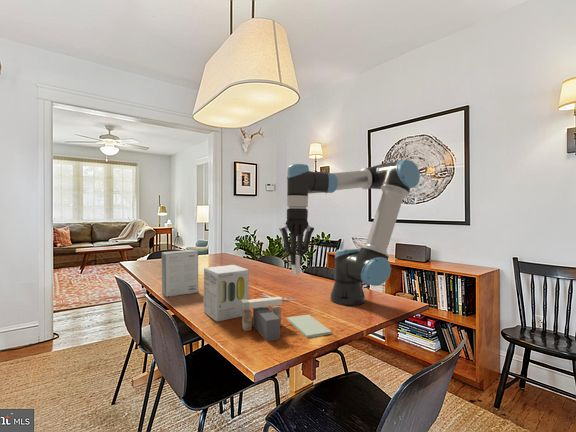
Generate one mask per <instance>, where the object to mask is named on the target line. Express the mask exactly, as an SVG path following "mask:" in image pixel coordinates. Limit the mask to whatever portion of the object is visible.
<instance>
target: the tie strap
mask: <svg viewBox="0 0 576 432" xmlns="http://www.w3.org/2000/svg"><path fill="white" fill-rule="evenodd" d="M282 298H283V297H280V296H271V297H270V298H268V297H261V298H253V299H249V300H247V299H243V300H241V308H242V309H243V310H248V309H253V308H257V307H266V306H267V307H273V306H279V305H280V306H283V299H282Z"/></svg>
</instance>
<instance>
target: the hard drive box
mask: <svg viewBox="0 0 576 432" xmlns="http://www.w3.org/2000/svg"><path fill="white" fill-rule="evenodd" d="M195 293H199V251H198V250H195V249H186V250H173V251H172V250H171V251H162V252H161V294H162V295H163V296H164V297H165V298H167V297H168V296H169V297H175V296H176V297H177V296H182V295H189V294H190V295H191V294H195Z"/></svg>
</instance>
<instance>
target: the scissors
mask: <svg viewBox="0 0 576 432" xmlns="http://www.w3.org/2000/svg"><path fill="white" fill-rule="evenodd" d="M262 294H263V295H260V294H258V296H261V297H262V298H270V297H272V296H270V295H269V294H266V293H264V292H262ZM281 298H282V300H285V301H298V299H297V298H296V299H295V298H291V297H281Z"/></svg>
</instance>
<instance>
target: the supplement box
mask: <svg viewBox="0 0 576 432" xmlns="http://www.w3.org/2000/svg"><path fill="white" fill-rule="evenodd" d="M249 275H250V273H249V269H248V268H245V267H241V266H239V265H236V264H228V265H218V266H209V267H204V268H203V312H204V313H205V314H206V315H207V316H209V317H210V318H211V319H213V320H214V321H215V322H217V323H218V322H221V321H227V320H230V319H235V318H240V317H242V310H243V309H242V308H241V300H243V299H247V300H250V299H249V298H250V297H249V296H250V295H249V294H250V293H249V292H250V291H249V287H250V283H249V282H250V281H249Z"/></svg>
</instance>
